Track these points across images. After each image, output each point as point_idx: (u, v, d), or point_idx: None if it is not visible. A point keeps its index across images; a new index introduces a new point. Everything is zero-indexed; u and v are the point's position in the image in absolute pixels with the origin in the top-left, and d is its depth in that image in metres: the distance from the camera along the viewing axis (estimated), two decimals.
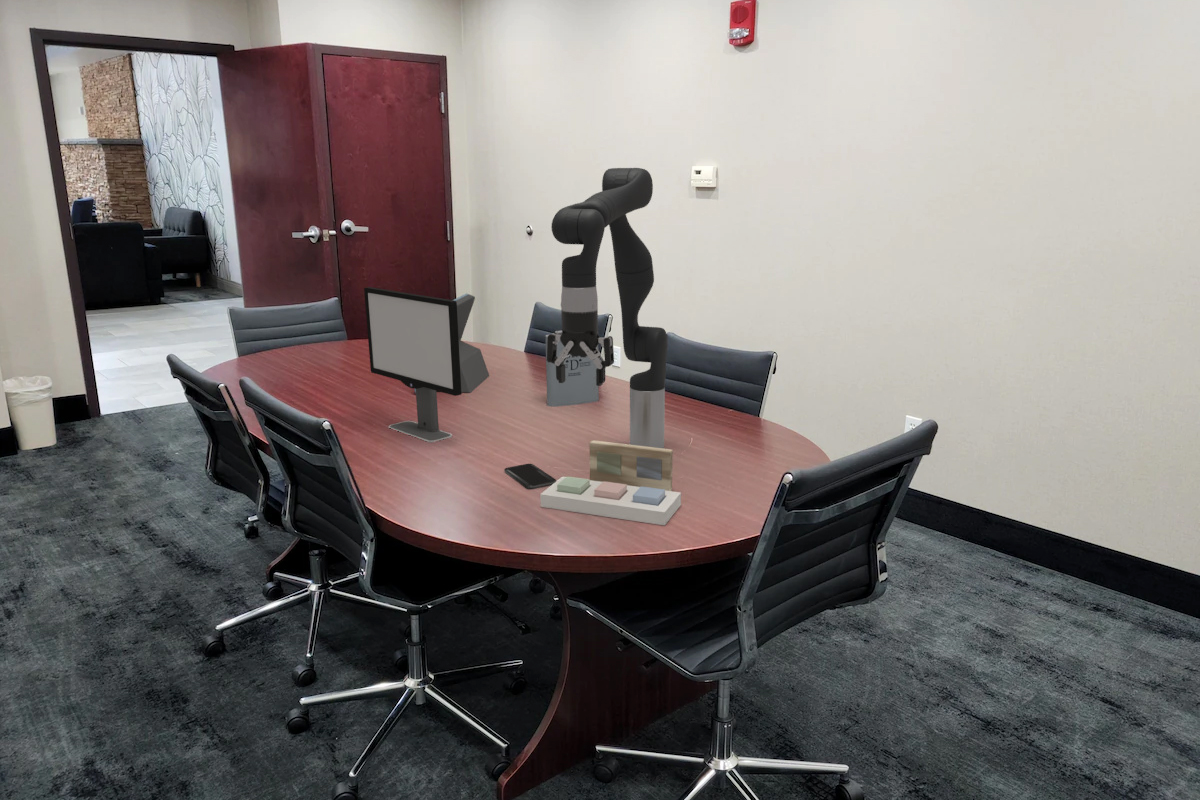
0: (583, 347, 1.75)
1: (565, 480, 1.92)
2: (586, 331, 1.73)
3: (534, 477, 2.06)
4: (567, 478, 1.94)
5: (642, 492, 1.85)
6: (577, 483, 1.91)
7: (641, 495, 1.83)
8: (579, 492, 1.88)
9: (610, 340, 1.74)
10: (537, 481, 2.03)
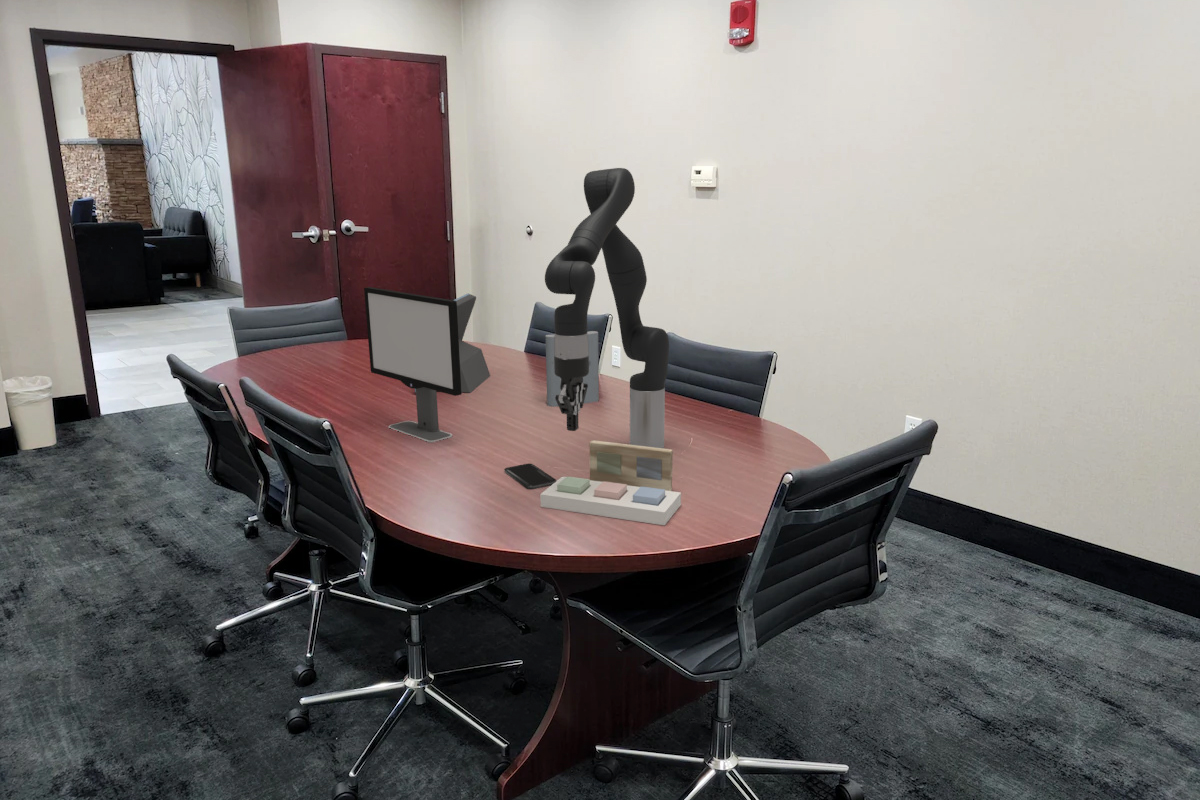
0: (582, 387, 1.86)
1: (565, 480, 1.92)
2: None
3: (534, 477, 2.06)
4: (567, 478, 1.94)
5: (642, 492, 1.85)
6: (577, 483, 1.91)
7: (641, 495, 1.83)
8: (579, 492, 1.88)
9: None
10: (537, 481, 2.03)
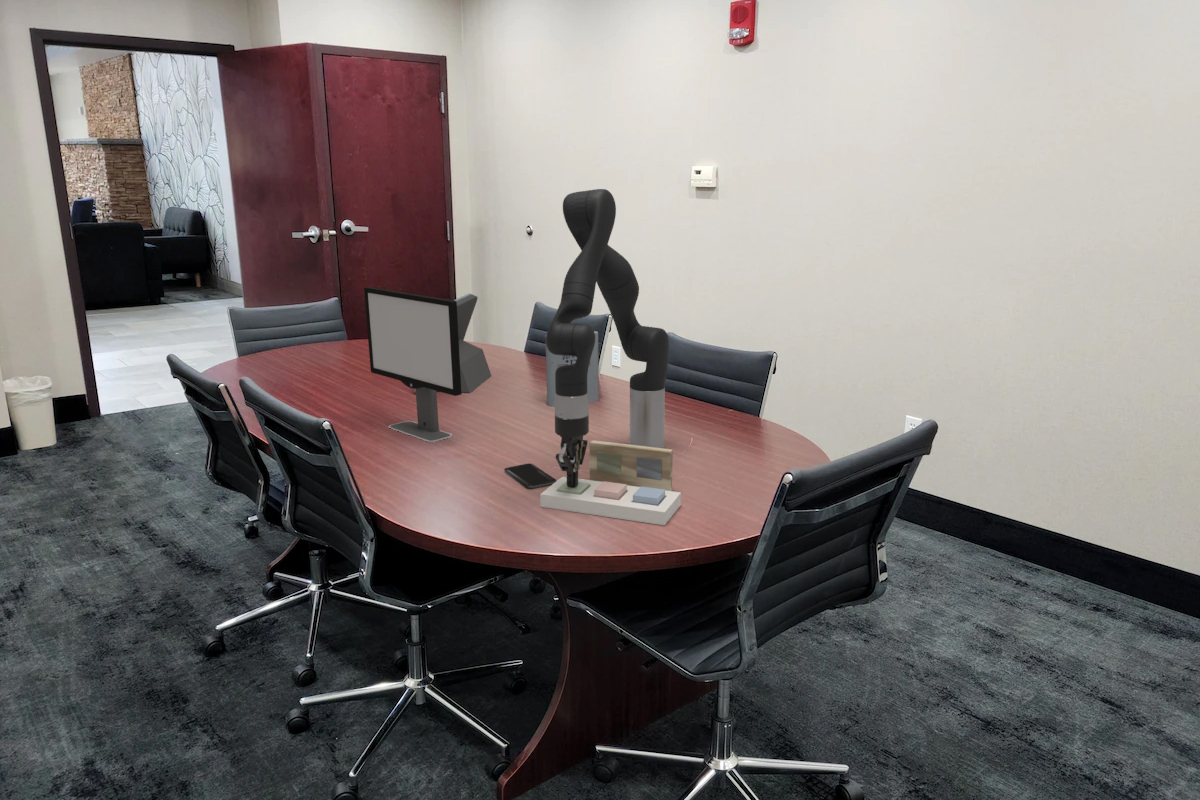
0: (582, 445, 1.90)
1: (565, 485, 1.93)
2: None
3: (534, 477, 2.06)
4: None
5: (642, 492, 1.85)
6: (577, 487, 1.91)
7: (641, 495, 1.83)
8: None
9: None
10: (537, 481, 2.03)
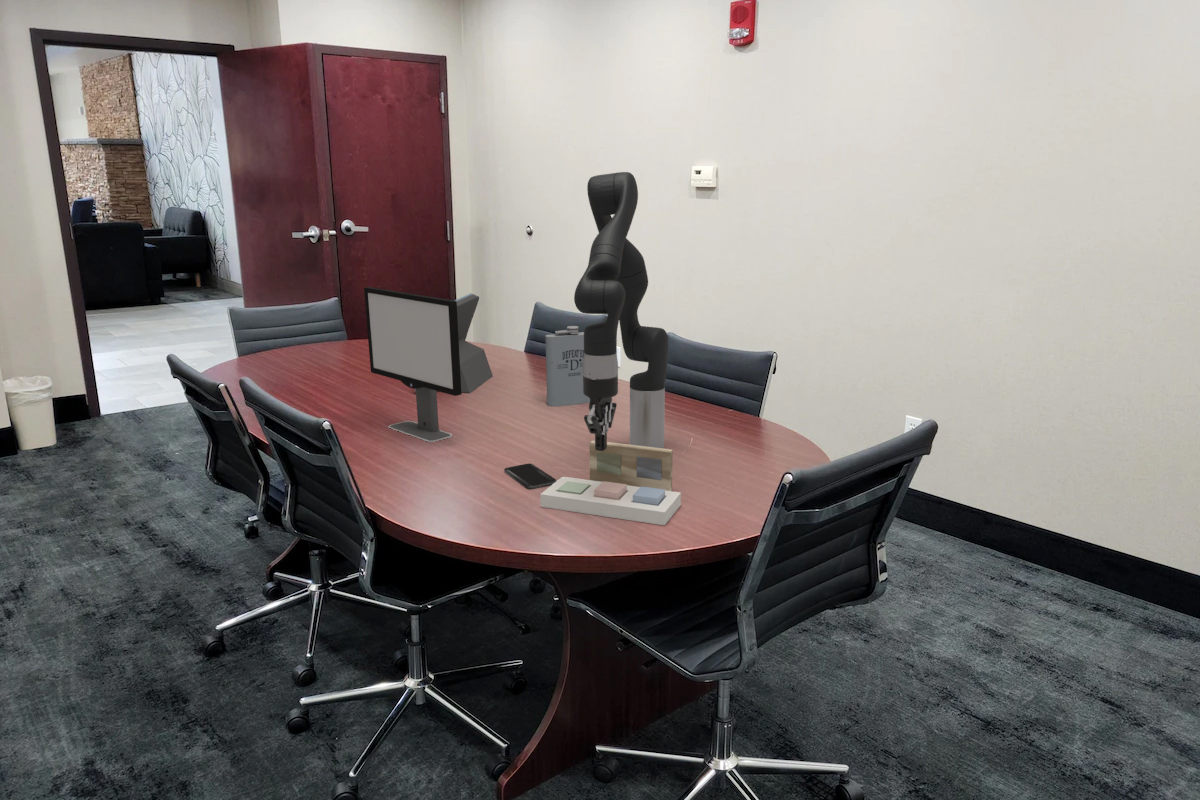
0: (611, 407, 1.85)
1: (565, 485, 1.93)
2: None
3: (534, 477, 2.06)
4: (567, 483, 1.94)
5: (642, 492, 1.85)
6: (577, 488, 1.91)
7: (641, 495, 1.83)
8: None
9: None
10: (537, 481, 2.03)
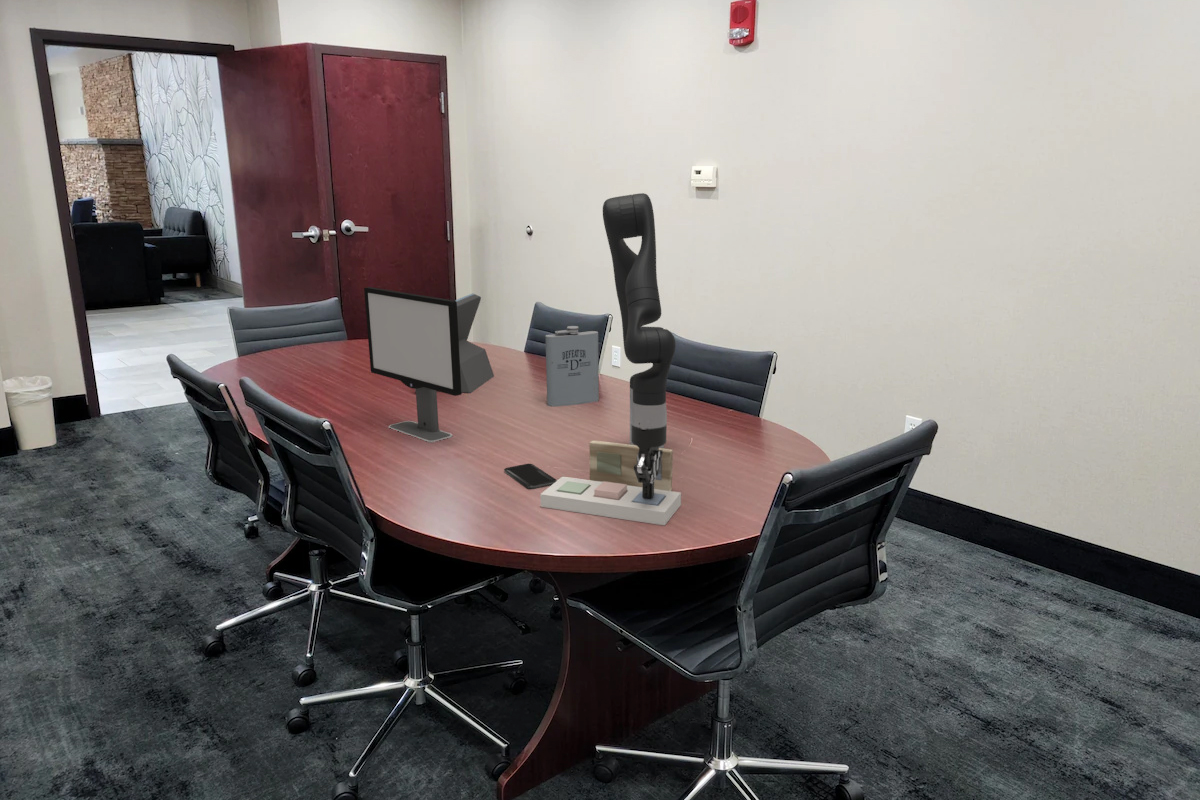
0: (659, 455, 1.83)
1: (565, 485, 1.93)
2: None
3: (534, 477, 2.06)
4: (567, 483, 1.94)
5: (642, 498, 1.85)
6: (577, 488, 1.91)
7: (641, 500, 1.84)
8: None
9: None
10: (537, 481, 2.03)
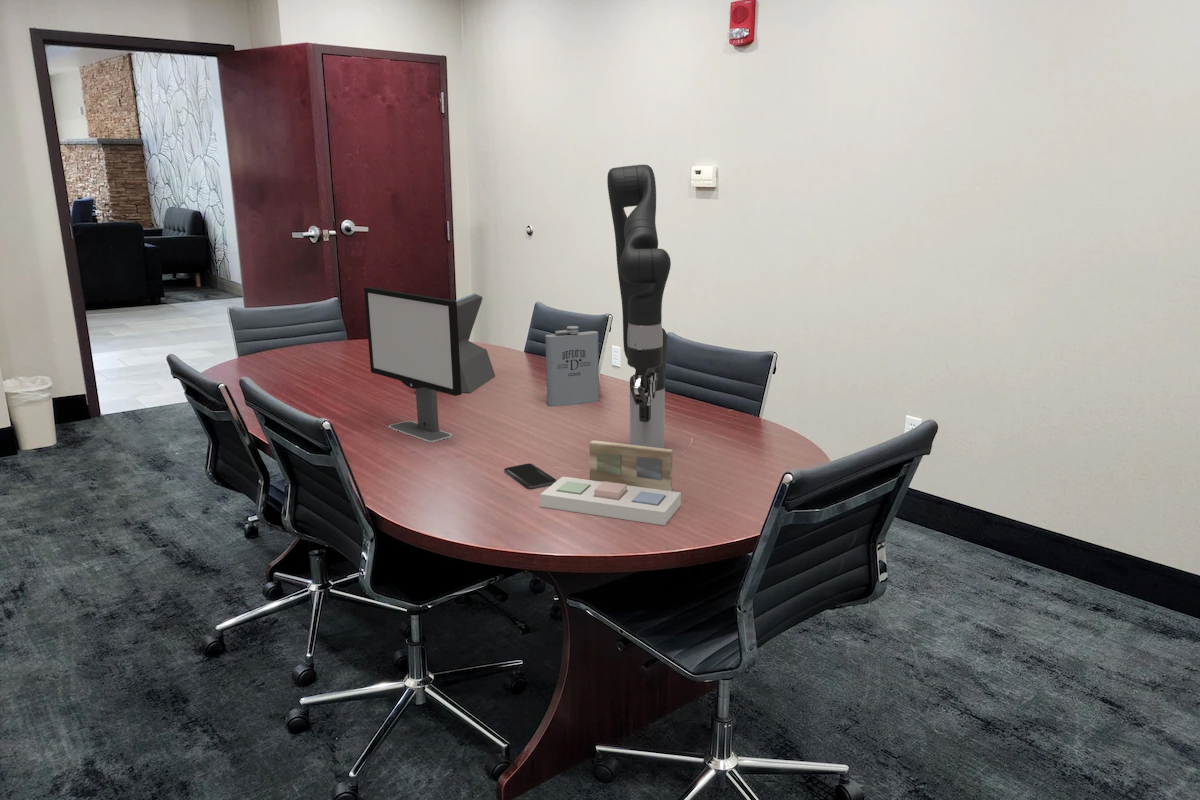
0: (655, 378, 1.83)
1: (565, 485, 1.93)
2: None
3: (534, 477, 2.06)
4: (567, 483, 1.94)
5: (642, 497, 1.85)
6: (577, 488, 1.91)
7: (641, 500, 1.84)
8: None
9: None
10: (538, 481, 2.03)
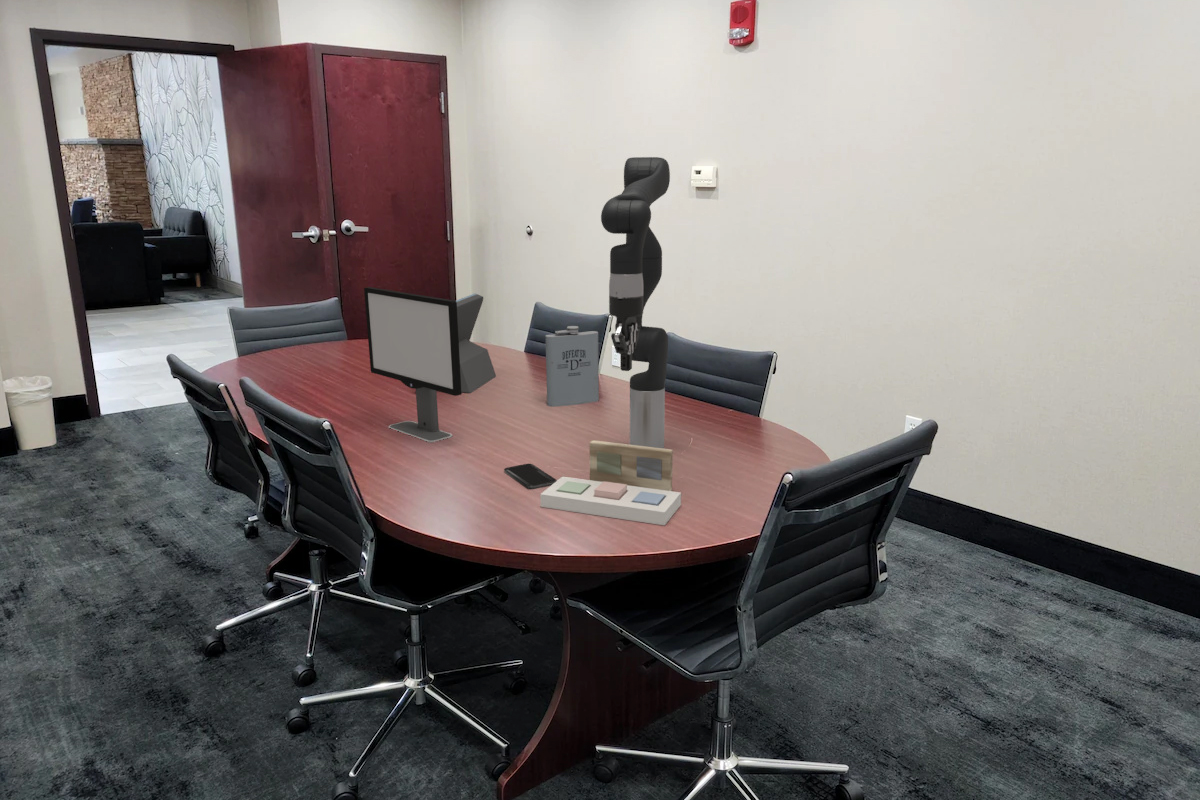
0: (636, 328, 1.89)
1: (565, 485, 1.93)
2: None
3: (534, 477, 2.06)
4: (567, 483, 1.94)
5: (642, 497, 1.85)
6: (577, 488, 1.91)
7: (641, 500, 1.84)
8: None
9: None
10: (538, 481, 2.03)
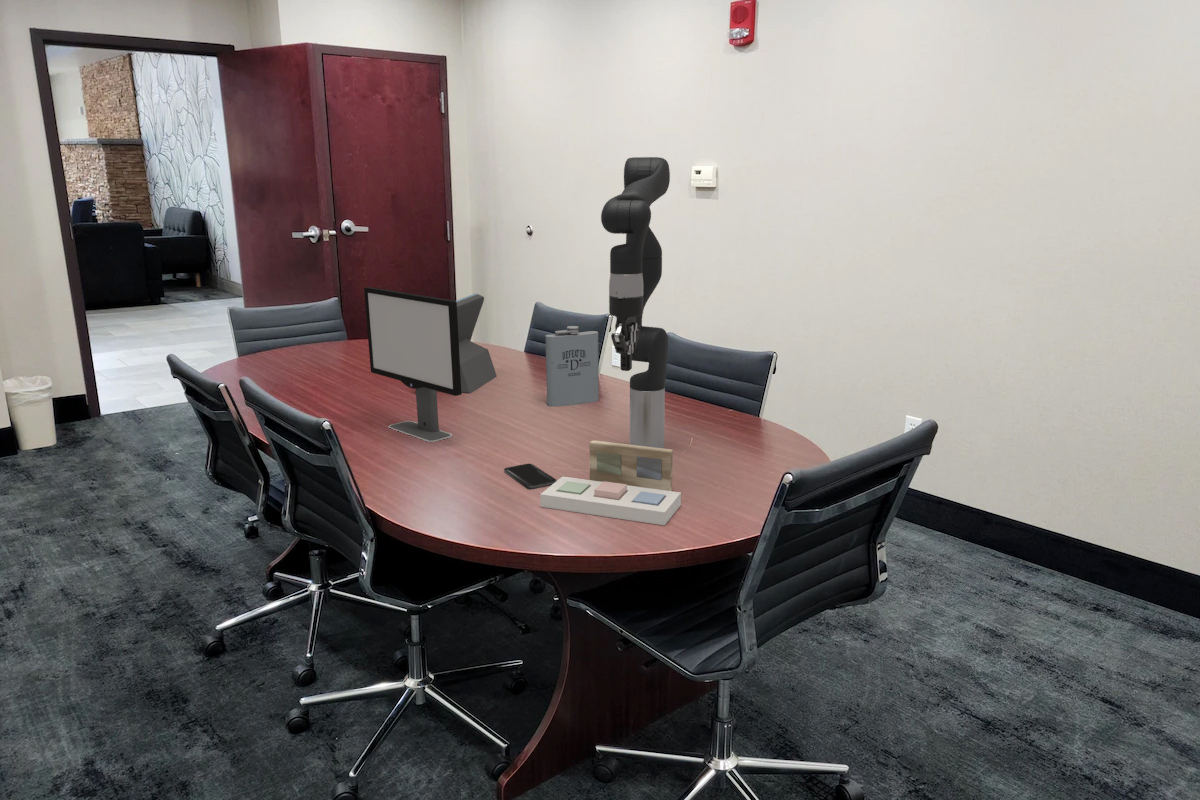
0: (636, 328, 1.89)
1: (565, 485, 1.93)
2: None
3: (534, 477, 2.06)
4: (567, 483, 1.94)
5: (642, 497, 1.85)
6: (577, 488, 1.91)
7: (641, 500, 1.84)
8: None
9: None
10: (538, 481, 2.03)
